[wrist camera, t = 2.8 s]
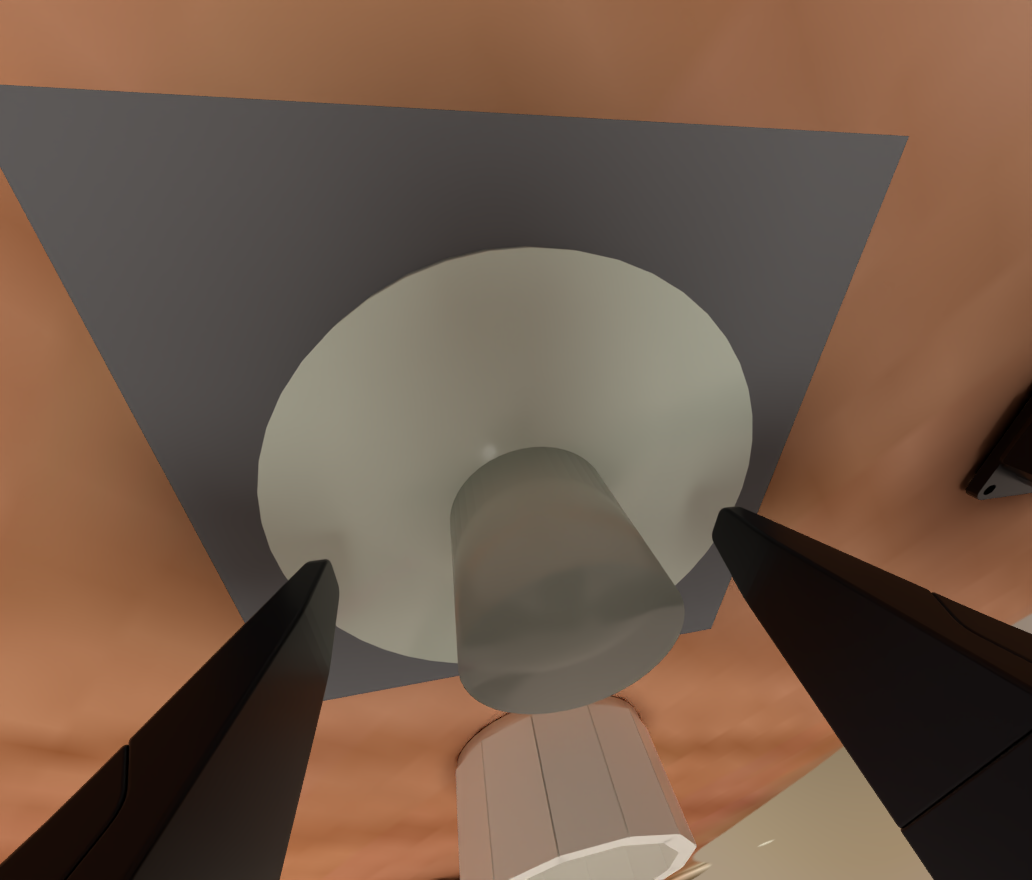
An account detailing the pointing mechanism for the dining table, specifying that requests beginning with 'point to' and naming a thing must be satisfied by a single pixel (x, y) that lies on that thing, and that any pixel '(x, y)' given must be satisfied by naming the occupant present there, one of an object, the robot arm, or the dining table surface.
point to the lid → (512, 469)
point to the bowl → (568, 799)
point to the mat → (407, 263)
